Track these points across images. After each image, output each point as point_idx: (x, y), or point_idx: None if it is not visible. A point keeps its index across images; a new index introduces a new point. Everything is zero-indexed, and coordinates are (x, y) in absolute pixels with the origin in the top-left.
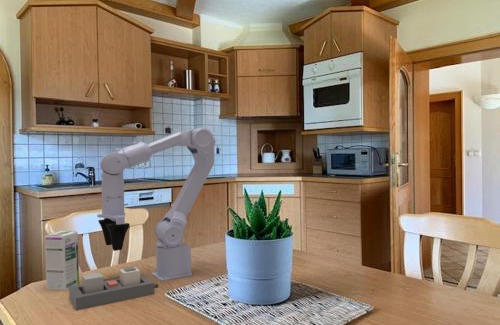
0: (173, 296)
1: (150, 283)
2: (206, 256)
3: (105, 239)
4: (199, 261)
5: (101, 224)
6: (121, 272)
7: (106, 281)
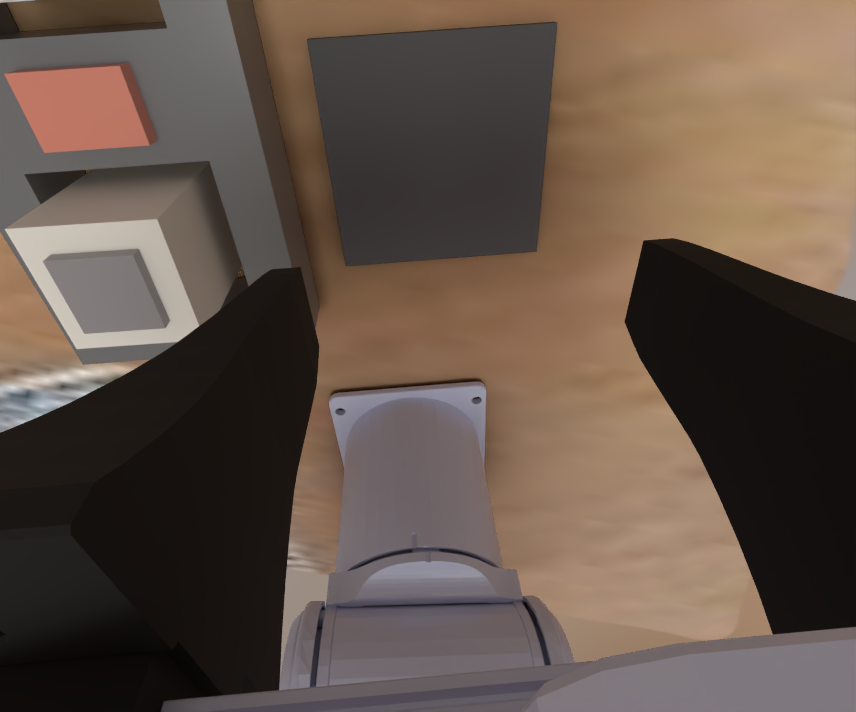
0: (71, 387)
1: (72, 345)
2: (592, 583)
3: (688, 264)
4: (544, 556)
5: None
6: (86, 219)
7: (205, 76)
